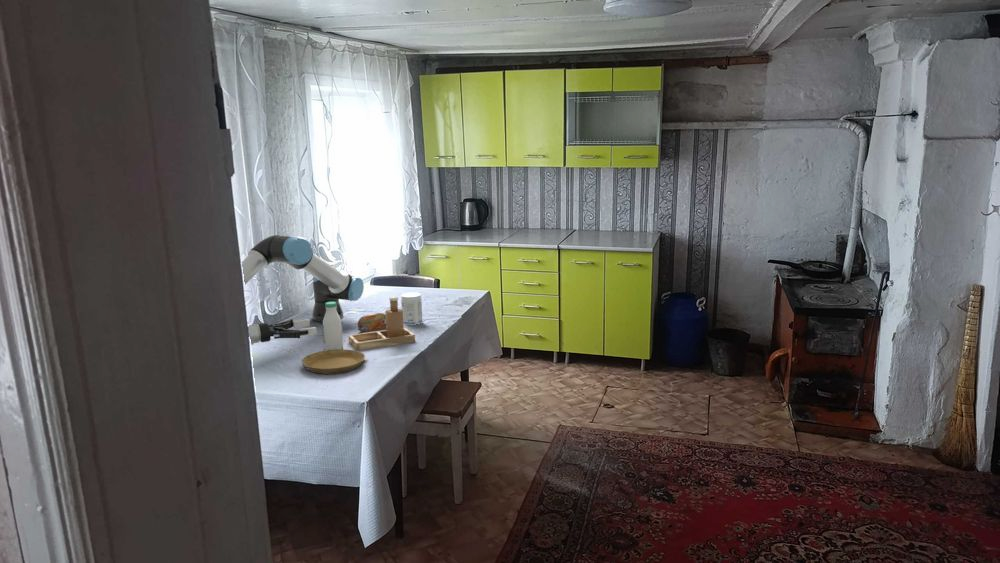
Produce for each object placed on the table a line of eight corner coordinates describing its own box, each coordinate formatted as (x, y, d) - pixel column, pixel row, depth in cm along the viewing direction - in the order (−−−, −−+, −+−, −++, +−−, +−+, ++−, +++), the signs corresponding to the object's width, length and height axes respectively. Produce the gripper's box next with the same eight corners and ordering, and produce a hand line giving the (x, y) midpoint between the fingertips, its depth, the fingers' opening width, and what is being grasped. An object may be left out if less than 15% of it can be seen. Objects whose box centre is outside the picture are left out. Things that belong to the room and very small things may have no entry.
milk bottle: (346, 347, 287) (344, 301, 282) (333, 352, 280) (330, 305, 276) (333, 344, 290) (330, 299, 286) (320, 349, 284) (317, 303, 280)
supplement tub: (415, 320, 327) (414, 291, 324) (426, 324, 320) (425, 294, 316) (398, 324, 321) (397, 294, 318) (409, 328, 314) (407, 297, 310)
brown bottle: (384, 338, 295) (382, 296, 291) (401, 336, 298) (399, 294, 294) (389, 343, 288) (387, 300, 284) (406, 340, 291) (404, 298, 287)
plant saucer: (339, 352, 280) (339, 344, 280) (377, 364, 265) (377, 356, 265) (289, 367, 262) (289, 359, 262) (327, 381, 247) (326, 372, 247)
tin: (360, 335, 303) (359, 317, 301) (357, 334, 305) (356, 316, 304) (389, 329, 312) (388, 312, 311) (386, 328, 315) (385, 310, 313)
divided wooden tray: (348, 344, 291) (348, 335, 290) (405, 335, 302) (404, 327, 301) (357, 352, 279) (356, 343, 278) (415, 343, 290) (414, 334, 289)
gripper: (255, 334, 282) (307, 327, 291) (264, 350, 260) (319, 342, 269) (254, 317, 280) (306, 310, 289) (262, 332, 258) (318, 324, 267)
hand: (312, 326), depth 279 cm, fingers open, 13 cm apart
